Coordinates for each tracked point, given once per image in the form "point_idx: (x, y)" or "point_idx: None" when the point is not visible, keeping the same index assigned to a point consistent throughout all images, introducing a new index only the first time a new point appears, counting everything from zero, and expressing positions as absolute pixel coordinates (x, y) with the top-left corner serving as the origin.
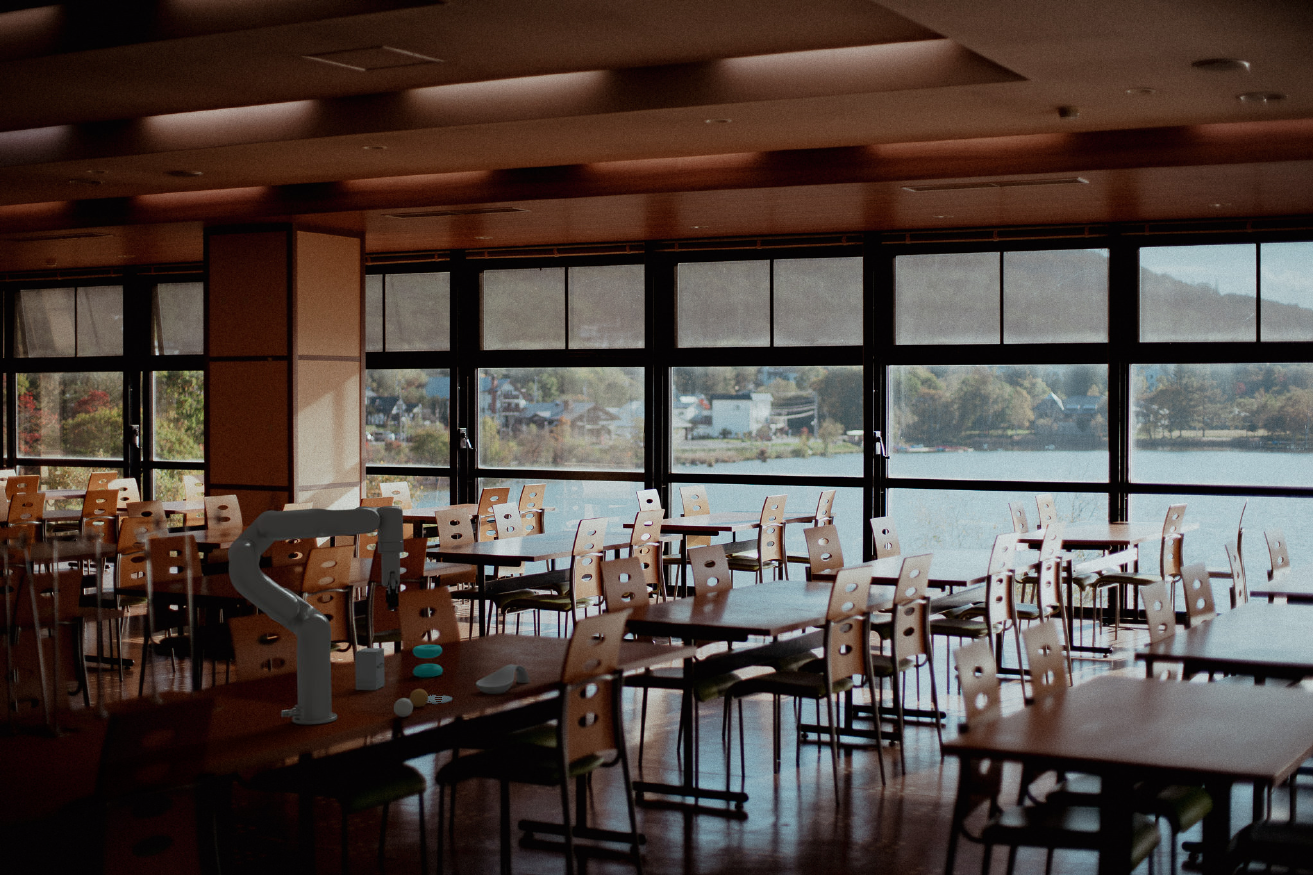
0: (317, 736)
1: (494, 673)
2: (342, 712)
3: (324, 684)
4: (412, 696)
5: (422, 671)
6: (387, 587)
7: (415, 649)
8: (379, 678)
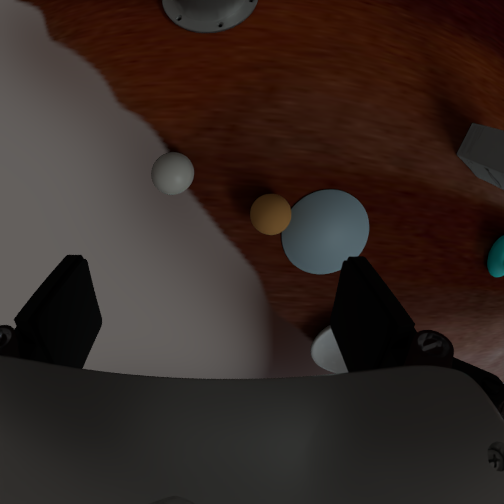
0: (65, 21)
1: None
2: (275, 47)
3: None
4: (260, 201)
5: (497, 248)
6: (404, 361)
7: None
8: (475, 168)
